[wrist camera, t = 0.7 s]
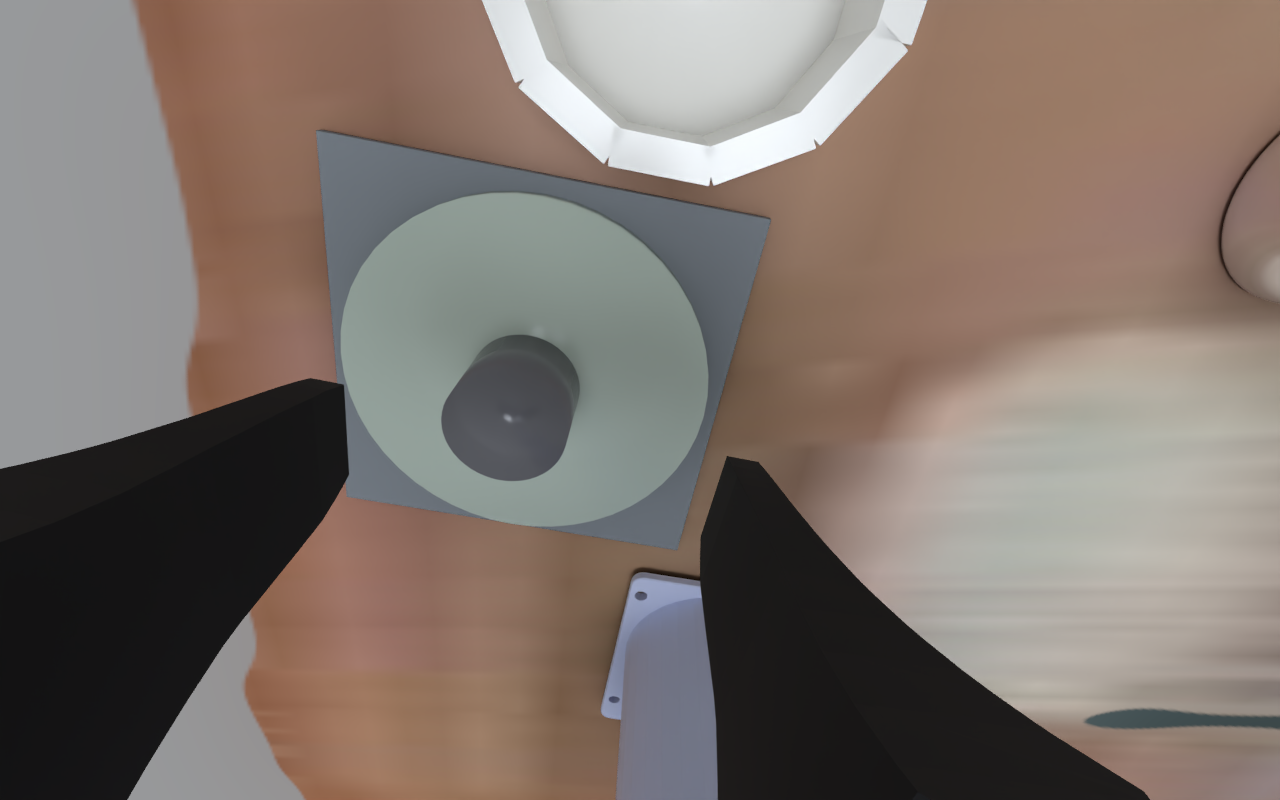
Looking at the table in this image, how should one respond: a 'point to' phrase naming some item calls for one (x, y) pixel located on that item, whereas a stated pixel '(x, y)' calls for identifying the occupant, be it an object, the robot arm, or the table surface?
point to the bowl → (701, 74)
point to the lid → (525, 358)
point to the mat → (675, 230)
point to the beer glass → (1256, 228)
